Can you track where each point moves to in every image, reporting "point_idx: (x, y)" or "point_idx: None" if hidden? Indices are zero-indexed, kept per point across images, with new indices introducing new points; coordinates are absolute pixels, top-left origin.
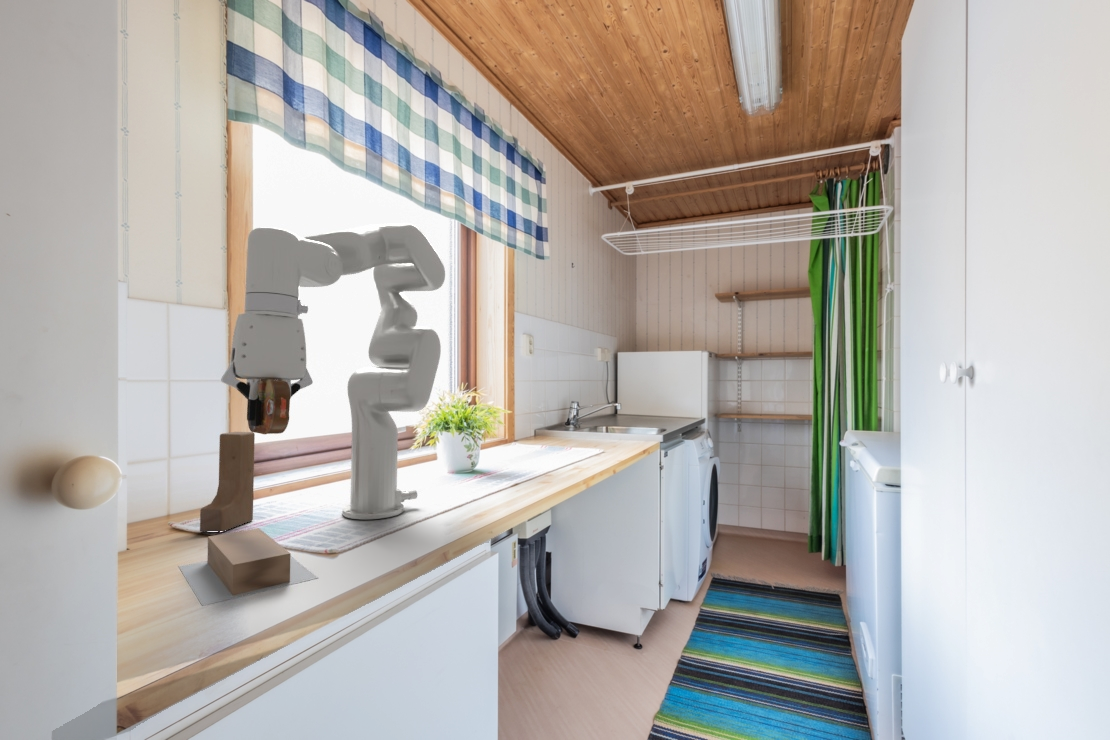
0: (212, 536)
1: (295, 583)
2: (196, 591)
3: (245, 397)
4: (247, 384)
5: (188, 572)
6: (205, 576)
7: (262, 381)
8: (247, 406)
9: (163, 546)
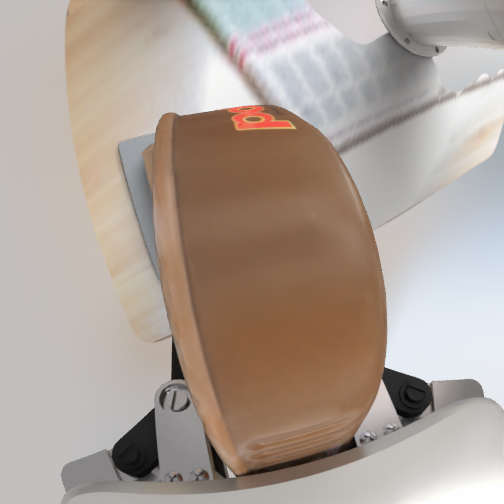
0: (147, 154)
1: None
2: (147, 242)
3: (159, 394)
4: (169, 463)
5: (131, 174)
6: (151, 199)
7: (258, 471)
8: (172, 362)
9: (103, 10)
